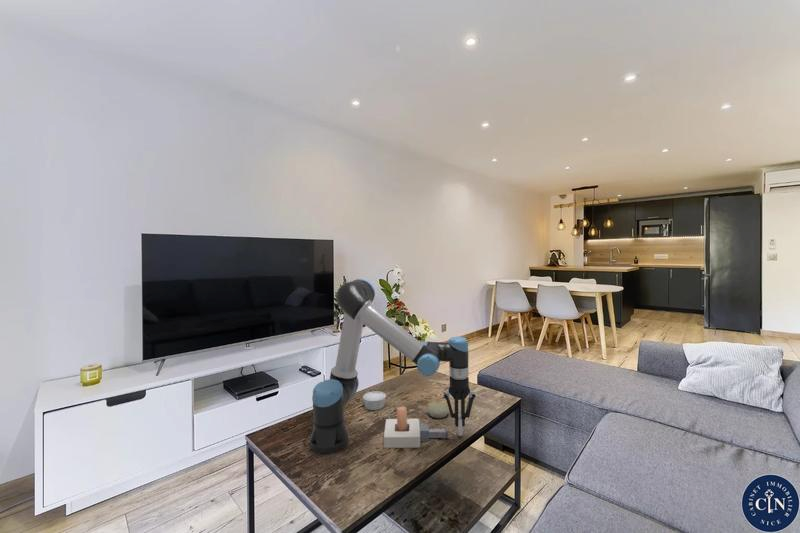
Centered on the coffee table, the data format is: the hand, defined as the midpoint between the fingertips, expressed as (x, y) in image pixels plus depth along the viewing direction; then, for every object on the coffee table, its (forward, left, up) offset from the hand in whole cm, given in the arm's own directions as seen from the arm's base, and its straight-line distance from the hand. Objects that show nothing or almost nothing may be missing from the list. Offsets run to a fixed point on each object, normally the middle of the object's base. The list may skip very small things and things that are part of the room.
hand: (460, 433), depth 137 cm
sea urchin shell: (-7, +19, -2) cm, 20 cm away
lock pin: (-10, 0, -1) cm, 11 cm away
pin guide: (-14, 0, -1) cm, 14 cm away
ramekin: (-37, +28, -2) cm, 47 cm away
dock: (-23, 0, -1) cm, 23 cm away
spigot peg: (-23, 0, -1) cm, 23 cm away
